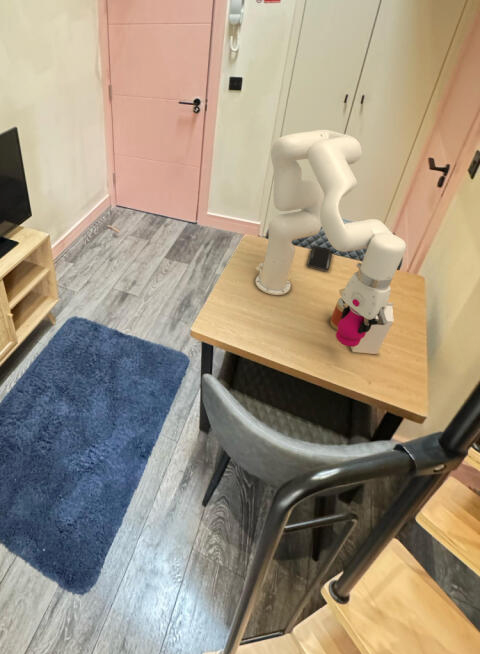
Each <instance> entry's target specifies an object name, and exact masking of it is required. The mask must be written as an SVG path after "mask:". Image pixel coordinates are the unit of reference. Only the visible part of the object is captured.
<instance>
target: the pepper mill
mask: <svg viewBox="0 0 480 654" xmlns="http://www.w3.org/2000/svg"><path fill="white" fill-rule="evenodd" d="M352 302H353V304H354V306H356V307H358V306H360V305H359V304H360V303H359V301H358V300H356V299H354V300H353V301H352ZM362 322H364V317H363V316H362V315H361V314H359V313H358V312H357V311H355V310H354V309H353V308H351V307H350V312H349V313H348V314H347V315H346V316H345V317H344V318H343V319H341V320H340V321H339V323H338V326H337V328H338V330H336V333H335V338H336V340H337V341H338V342H339V343H340V344H342V345H344V346H345V347H350V348H351V347H354V346H357V345H359V343H360V340H361V339H362V338H363V337H364V336H365V334H366V332H363V333H361V334H360V333H358V330H359V328H360V325H361V323H362Z"/></svg>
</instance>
